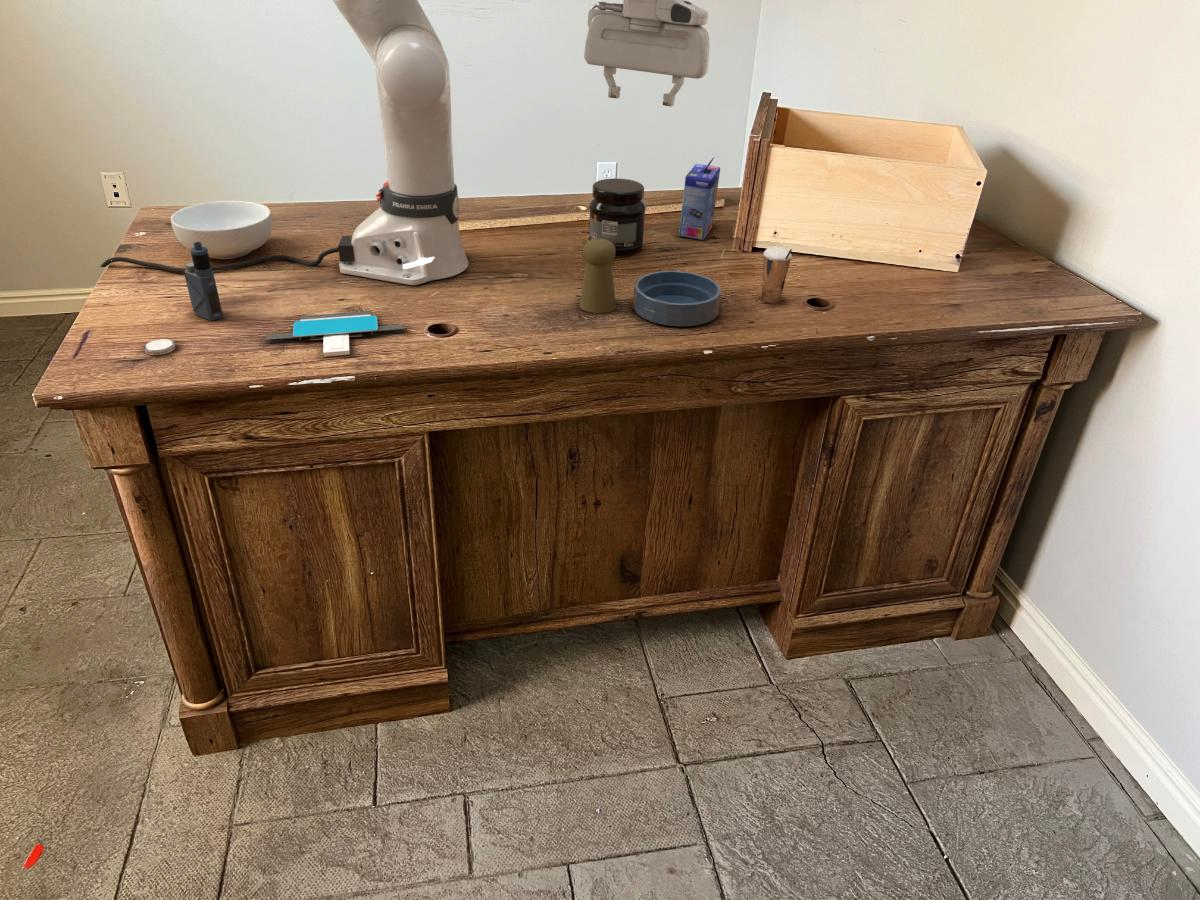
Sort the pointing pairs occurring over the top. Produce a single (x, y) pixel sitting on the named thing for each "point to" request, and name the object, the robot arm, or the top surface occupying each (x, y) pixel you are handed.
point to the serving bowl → (676, 298)
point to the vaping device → (202, 284)
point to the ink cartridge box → (699, 201)
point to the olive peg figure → (598, 277)
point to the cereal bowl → (223, 227)
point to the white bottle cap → (159, 346)
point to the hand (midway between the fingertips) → (640, 101)
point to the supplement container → (618, 214)
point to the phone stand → (335, 330)
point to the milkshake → (774, 273)
